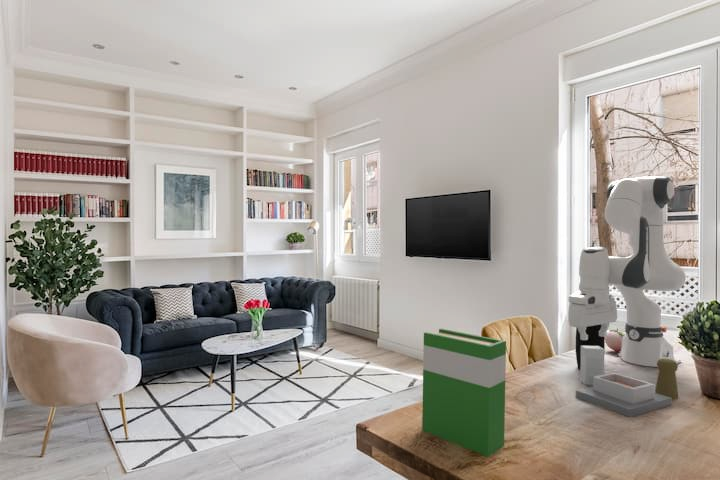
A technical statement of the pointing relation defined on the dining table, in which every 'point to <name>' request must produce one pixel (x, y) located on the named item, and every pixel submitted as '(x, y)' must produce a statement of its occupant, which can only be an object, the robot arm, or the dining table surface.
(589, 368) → the skincare box
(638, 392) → the switch box
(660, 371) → the cork
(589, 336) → the portable speaker
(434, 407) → the hardback book
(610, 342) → the decorative fruit
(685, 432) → the dining table surface
